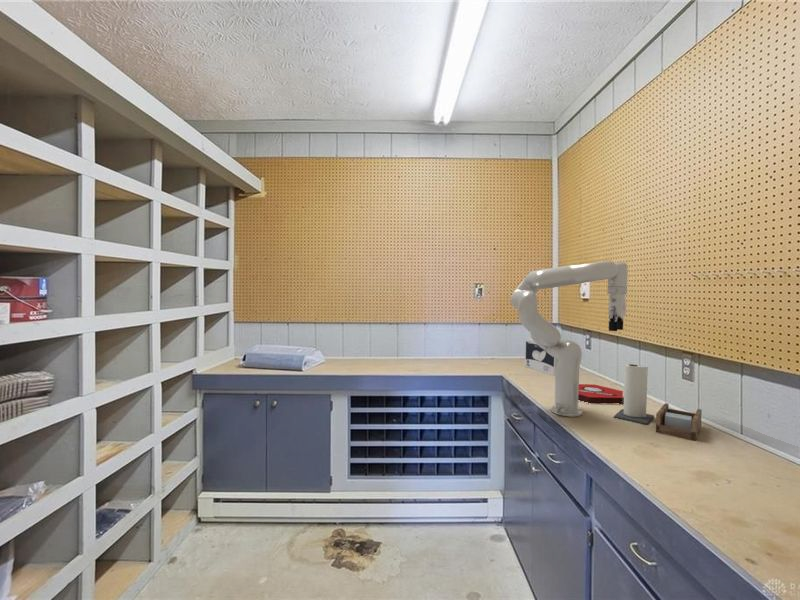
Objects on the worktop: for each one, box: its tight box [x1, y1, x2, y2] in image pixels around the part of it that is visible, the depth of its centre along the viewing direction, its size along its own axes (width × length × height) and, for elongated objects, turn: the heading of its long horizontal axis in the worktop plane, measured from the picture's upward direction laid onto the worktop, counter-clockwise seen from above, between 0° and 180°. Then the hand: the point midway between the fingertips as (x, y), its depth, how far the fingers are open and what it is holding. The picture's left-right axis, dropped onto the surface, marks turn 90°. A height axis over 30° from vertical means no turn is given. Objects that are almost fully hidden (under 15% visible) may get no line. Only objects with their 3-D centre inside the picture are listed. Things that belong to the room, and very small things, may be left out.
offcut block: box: [665, 412, 692, 431], centre depth 147 cm, size 6×8×6 cm
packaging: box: [524, 337, 558, 377], centre depth 258 cm, size 30×6×20 cm, turn 18°
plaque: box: [578, 383, 624, 405], centre depth 195 cm, size 27×4×30 cm
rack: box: [655, 402, 702, 442], centre depth 149 cm, size 20×12×7 cm, turn 137°
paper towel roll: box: [623, 363, 648, 417], centre depth 163 cm, size 7×6×21 cm
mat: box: [613, 408, 655, 426], centre depth 163 cm, size 14×12×1 cm
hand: (615, 330), depth 168 cm, fingers open, 9 cm apart
